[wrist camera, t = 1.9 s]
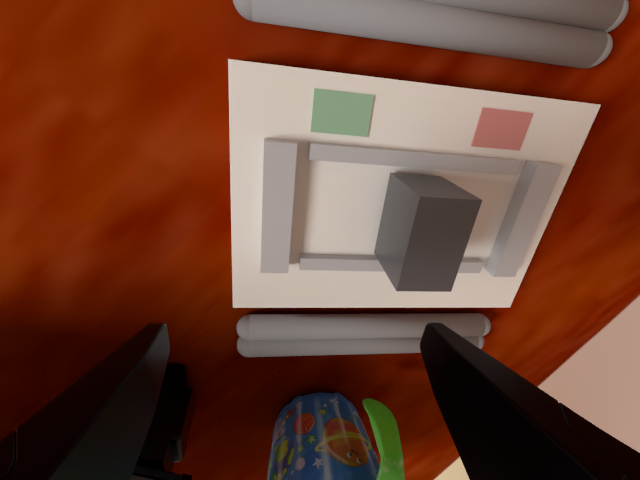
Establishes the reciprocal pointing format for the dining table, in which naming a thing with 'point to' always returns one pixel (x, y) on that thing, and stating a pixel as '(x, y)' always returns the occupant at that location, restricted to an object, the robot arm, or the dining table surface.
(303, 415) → the snack cup
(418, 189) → the switch knob
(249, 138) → the breaker panel
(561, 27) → the grey twin rods
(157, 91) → the dining table surface
